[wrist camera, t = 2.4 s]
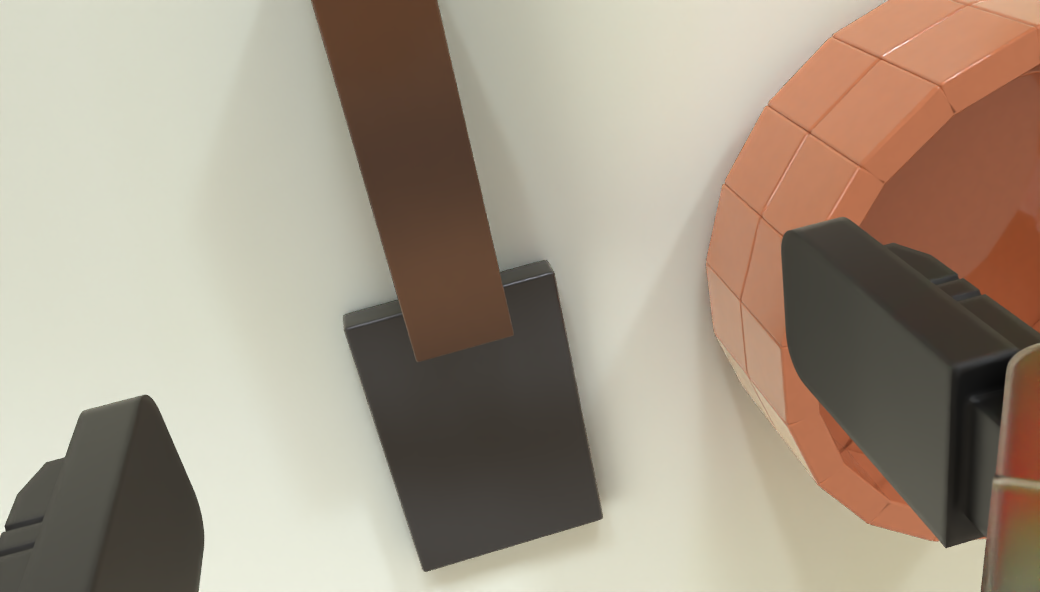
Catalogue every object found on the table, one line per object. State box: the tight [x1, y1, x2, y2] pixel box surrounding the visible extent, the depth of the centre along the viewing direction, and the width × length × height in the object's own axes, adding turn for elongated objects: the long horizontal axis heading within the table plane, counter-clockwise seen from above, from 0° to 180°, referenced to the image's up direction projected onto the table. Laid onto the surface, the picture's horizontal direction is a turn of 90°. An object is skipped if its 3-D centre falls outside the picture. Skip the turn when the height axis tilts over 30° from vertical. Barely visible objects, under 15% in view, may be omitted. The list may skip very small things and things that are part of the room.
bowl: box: [706, 0, 1040, 542], centre depth 24 cm, size 13×13×5 cm
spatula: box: [311, 0, 603, 572], centre depth 23 cm, size 17×5×3 cm, turn 11°
